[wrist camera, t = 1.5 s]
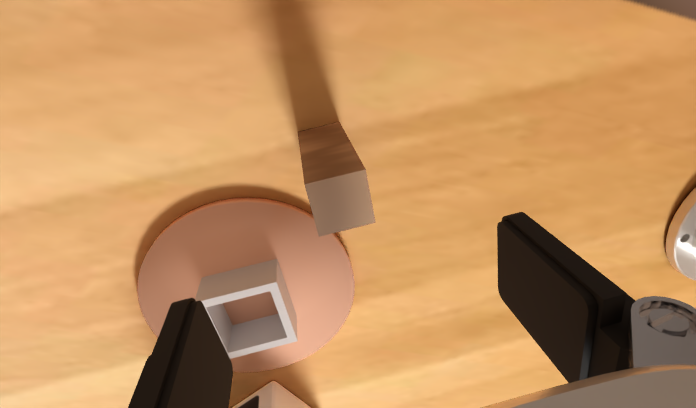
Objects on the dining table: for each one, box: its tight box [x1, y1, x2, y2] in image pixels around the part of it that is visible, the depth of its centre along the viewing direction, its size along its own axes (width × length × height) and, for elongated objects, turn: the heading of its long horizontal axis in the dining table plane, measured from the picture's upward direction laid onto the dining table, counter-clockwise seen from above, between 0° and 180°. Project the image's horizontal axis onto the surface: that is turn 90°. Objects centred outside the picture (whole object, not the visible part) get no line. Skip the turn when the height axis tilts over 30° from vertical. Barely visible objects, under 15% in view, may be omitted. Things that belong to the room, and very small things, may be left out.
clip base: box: [137, 198, 355, 372], centre depth 28 cm, size 16×16×4 cm
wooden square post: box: [298, 122, 375, 237], centre depth 21 cm, size 3×3×9 cm
